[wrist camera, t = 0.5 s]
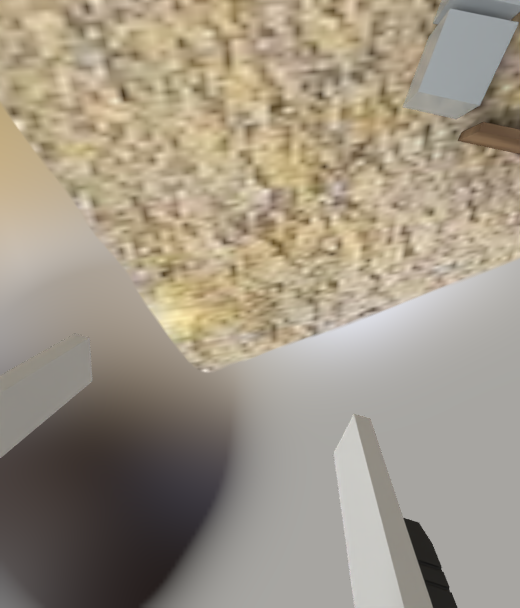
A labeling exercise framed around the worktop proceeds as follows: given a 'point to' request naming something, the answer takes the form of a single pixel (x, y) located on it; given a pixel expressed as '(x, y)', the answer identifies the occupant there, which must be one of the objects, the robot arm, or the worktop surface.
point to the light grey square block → (480, 8)
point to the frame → (493, 137)
